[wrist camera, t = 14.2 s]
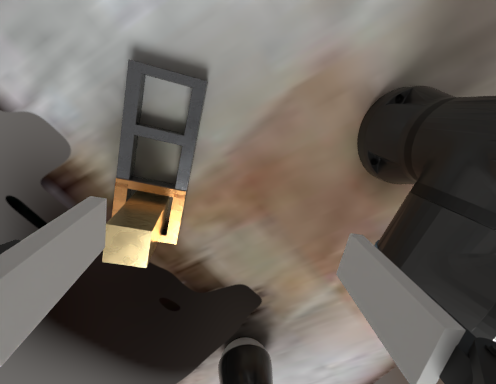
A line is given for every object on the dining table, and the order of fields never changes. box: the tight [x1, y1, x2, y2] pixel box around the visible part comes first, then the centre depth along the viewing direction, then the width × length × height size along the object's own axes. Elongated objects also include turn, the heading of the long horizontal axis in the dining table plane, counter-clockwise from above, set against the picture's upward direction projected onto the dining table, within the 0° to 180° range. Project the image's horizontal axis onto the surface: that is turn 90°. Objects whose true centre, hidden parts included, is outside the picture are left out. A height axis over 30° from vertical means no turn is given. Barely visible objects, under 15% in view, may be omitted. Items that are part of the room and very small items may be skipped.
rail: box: [112, 60, 208, 244], centre depth 38 cm, size 10×25×2 cm, turn 166°
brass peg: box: [102, 190, 170, 268], centre depth 35 cm, size 5×5×12 cm
